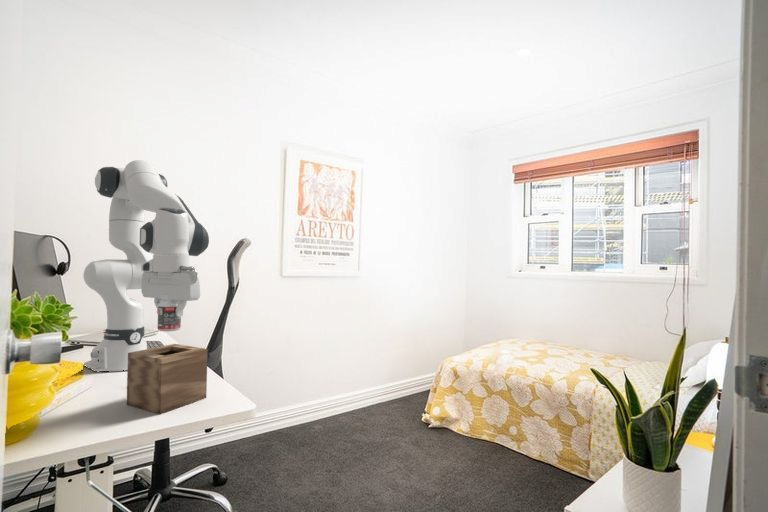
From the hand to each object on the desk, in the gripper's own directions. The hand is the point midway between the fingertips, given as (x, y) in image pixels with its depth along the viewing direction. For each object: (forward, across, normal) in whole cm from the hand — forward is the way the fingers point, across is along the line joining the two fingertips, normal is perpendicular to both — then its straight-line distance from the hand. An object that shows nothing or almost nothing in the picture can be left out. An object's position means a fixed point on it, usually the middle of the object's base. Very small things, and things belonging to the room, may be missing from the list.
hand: (169, 315), depth 112 cm
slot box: (+24, 0, 0) cm, 24 cm away
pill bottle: (+4, 0, 0) cm, 4 cm away
